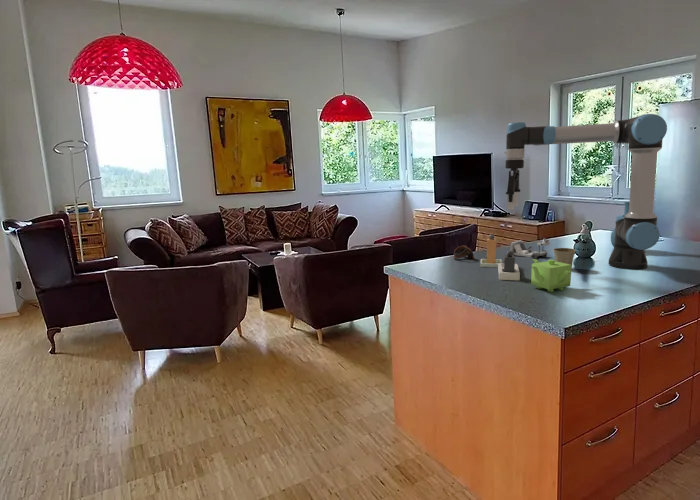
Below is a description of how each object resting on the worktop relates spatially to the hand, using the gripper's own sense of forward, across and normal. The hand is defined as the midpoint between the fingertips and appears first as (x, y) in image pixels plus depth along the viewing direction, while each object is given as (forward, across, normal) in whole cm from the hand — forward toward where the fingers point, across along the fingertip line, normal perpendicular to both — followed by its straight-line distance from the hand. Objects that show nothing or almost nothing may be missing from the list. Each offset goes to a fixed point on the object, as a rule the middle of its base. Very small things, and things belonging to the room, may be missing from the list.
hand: (512, 208), depth 210 cm
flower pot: (+28, -7, +22) cm, 36 cm away
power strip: (+28, +12, +1) cm, 30 cm away
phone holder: (+28, -31, +5) cm, 42 cm away
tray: (+28, -3, -9) cm, 29 cm away
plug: (+27, -3, -9) cm, 29 cm away
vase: (+27, -58, +50) cm, 81 cm away
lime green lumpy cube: (+28, +29, +18) cm, 44 cm away
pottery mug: (+28, -13, -24) cm, 39 cm away
